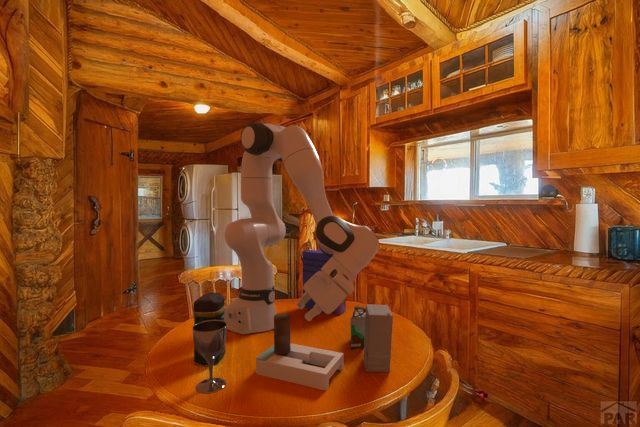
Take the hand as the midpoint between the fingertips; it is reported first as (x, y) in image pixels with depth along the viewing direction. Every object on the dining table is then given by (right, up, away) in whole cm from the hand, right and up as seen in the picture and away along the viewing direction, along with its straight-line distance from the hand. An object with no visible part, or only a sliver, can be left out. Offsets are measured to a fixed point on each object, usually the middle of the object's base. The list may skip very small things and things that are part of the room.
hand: (302, 313), depth 94 cm
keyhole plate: (0, -14, -3) cm, 15 cm away
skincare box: (+21, -14, 0) cm, 25 cm away
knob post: (-5, -14, -1) cm, 15 cm away
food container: (+18, -14, +14) cm, 27 cm away
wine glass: (-22, -15, -10) cm, 28 cm away
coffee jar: (-27, -15, +4) cm, 31 cm away
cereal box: (+7, -12, +46) cm, 48 cm away
